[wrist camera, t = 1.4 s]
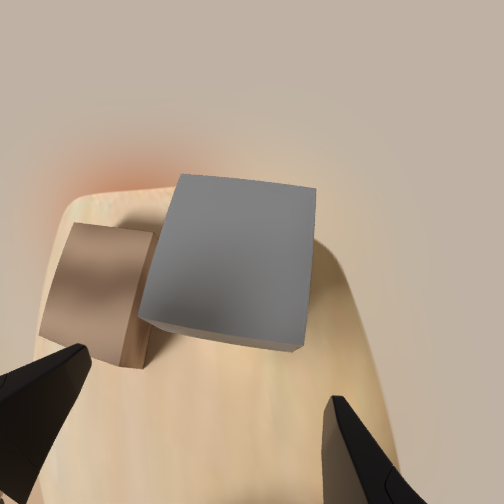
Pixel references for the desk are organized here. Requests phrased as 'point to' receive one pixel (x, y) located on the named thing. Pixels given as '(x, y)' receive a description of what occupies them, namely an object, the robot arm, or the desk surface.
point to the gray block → (234, 263)
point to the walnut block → (101, 293)
